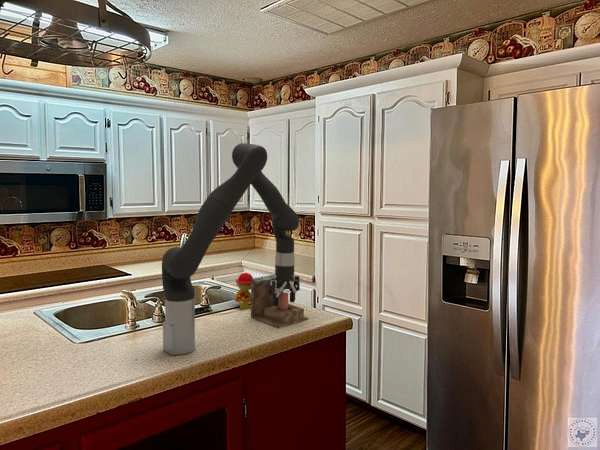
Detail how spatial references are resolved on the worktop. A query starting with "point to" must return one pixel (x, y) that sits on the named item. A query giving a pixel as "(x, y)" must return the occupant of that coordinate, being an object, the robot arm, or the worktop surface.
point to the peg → (283, 301)
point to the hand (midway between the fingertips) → (284, 303)
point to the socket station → (271, 305)
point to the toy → (244, 290)
